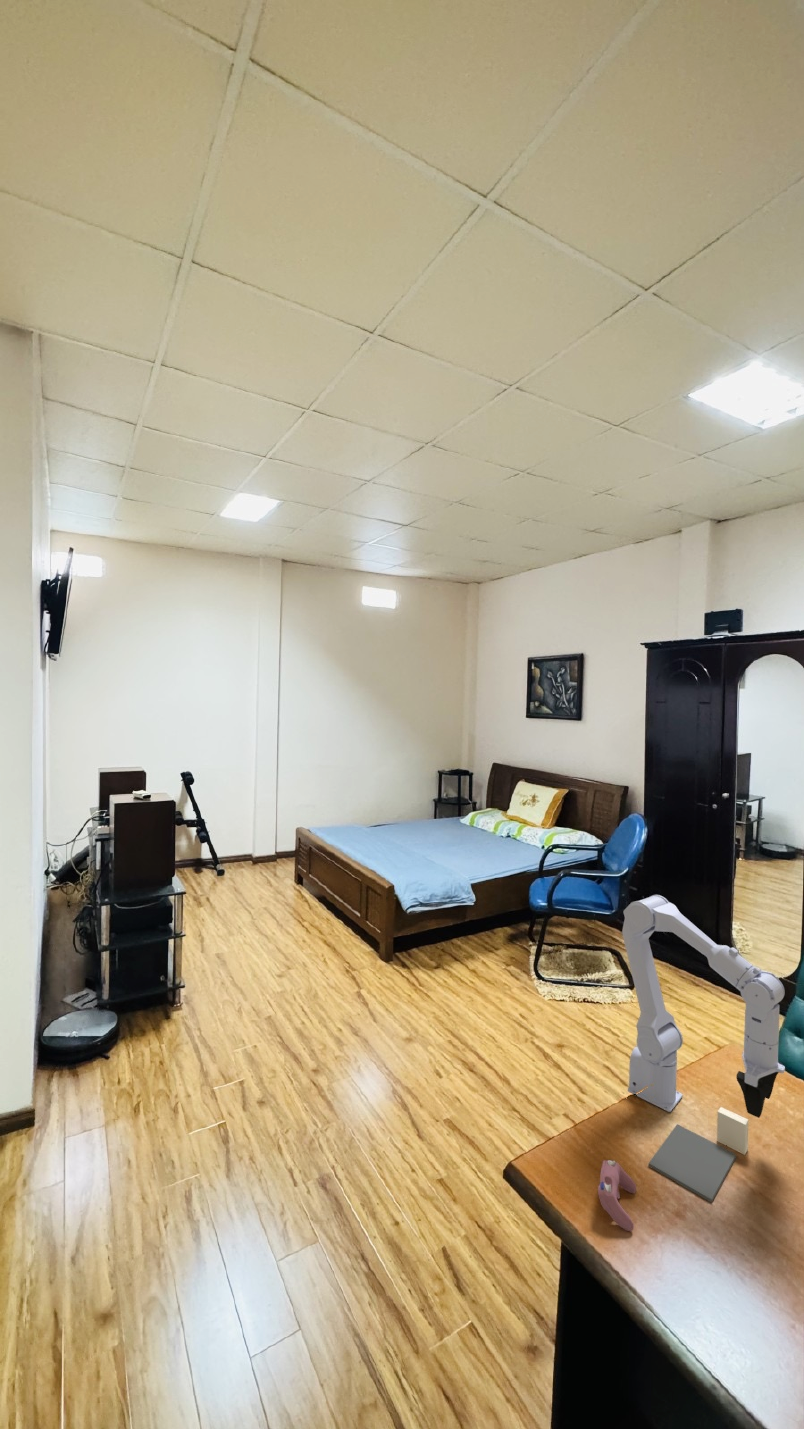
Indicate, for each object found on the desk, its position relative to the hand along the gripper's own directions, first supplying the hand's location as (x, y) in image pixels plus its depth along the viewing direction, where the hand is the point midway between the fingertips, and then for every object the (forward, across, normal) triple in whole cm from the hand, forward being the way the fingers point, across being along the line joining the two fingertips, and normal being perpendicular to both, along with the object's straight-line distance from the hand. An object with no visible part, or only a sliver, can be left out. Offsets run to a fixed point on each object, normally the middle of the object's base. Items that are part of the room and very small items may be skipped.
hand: (758, 1105), depth 111 cm
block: (+10, -1, +4) cm, 10 cm away
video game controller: (+10, -32, +14) cm, 37 cm away
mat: (+10, -12, +8) cm, 17 cm away
